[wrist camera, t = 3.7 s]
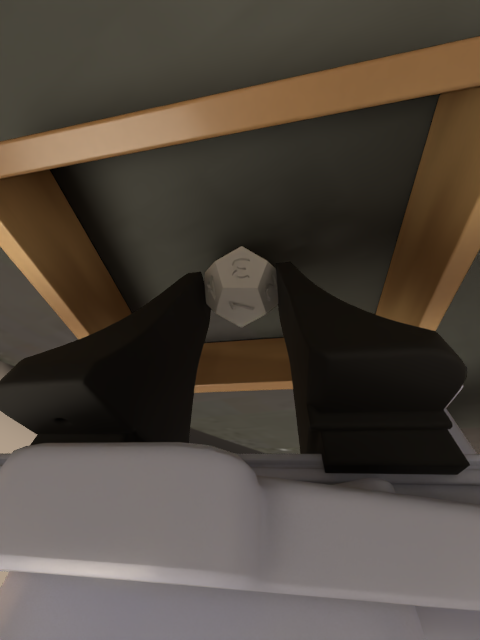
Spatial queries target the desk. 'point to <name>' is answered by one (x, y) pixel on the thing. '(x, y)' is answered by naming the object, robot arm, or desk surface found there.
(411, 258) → the wooden box
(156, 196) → the desk surface
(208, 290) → the game die
